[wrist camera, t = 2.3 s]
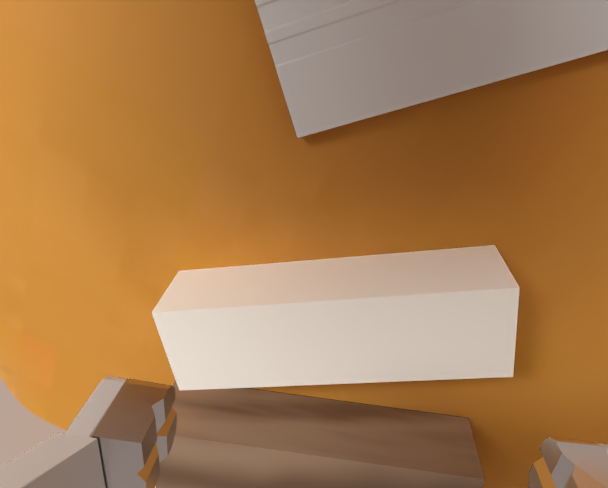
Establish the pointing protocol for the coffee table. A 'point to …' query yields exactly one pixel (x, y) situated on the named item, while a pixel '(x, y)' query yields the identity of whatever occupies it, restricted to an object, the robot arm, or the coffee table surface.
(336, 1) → the baseboard molding
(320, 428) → the brown wooden block
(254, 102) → the coffee table surface
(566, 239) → the coffee table surface
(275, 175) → the coffee table surface
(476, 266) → the cream floor plank
